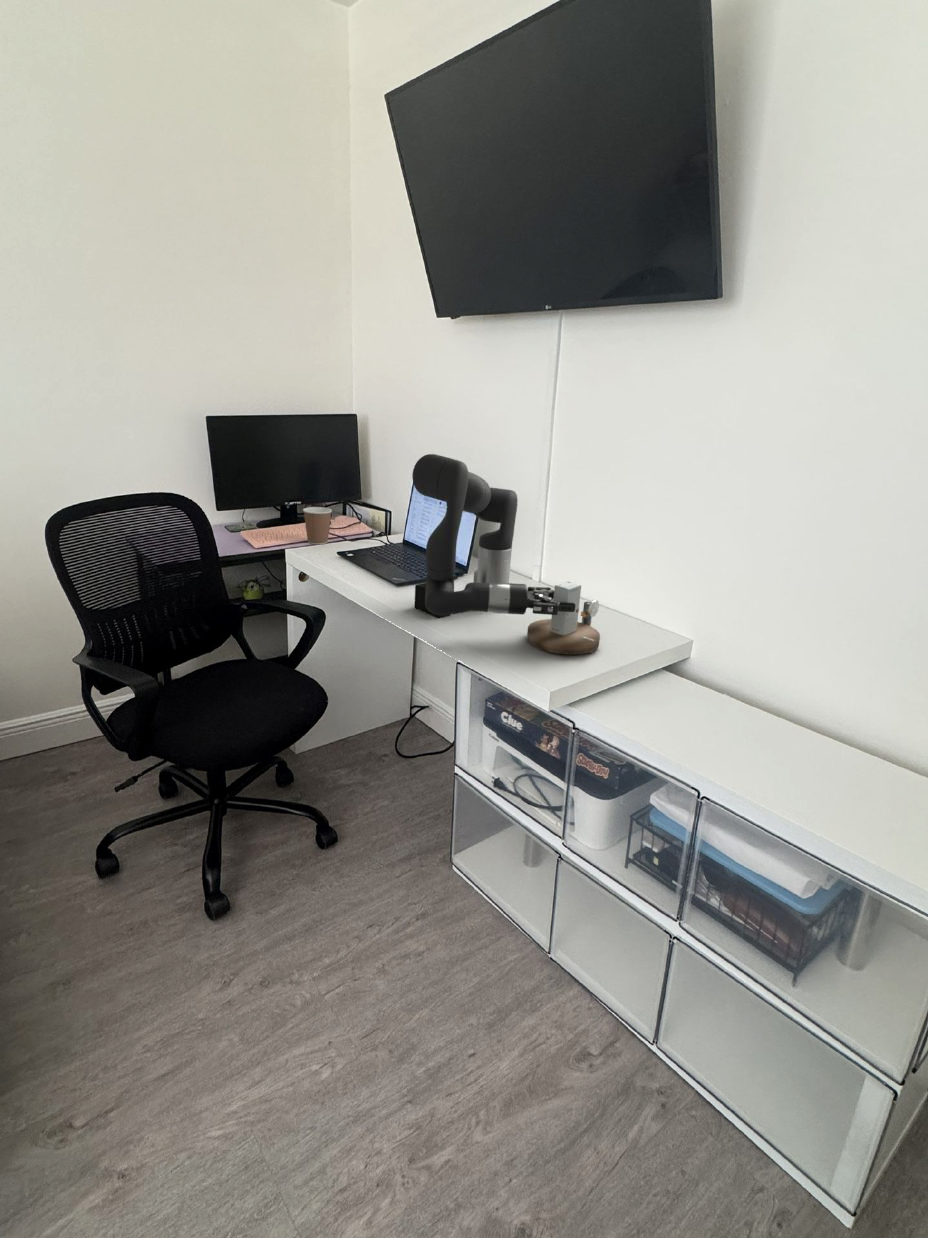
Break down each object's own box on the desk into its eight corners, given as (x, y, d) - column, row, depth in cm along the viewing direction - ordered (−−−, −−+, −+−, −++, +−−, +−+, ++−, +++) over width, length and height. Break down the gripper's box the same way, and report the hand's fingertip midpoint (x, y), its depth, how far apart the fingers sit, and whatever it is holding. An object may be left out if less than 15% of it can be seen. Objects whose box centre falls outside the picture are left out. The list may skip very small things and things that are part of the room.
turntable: (512, 639, 174) (513, 630, 173) (551, 622, 188) (552, 613, 187) (575, 660, 164) (577, 650, 163) (611, 641, 177) (612, 632, 176)
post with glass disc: (586, 636, 182) (590, 602, 178) (576, 633, 183) (580, 599, 180) (595, 631, 185) (599, 598, 182) (585, 628, 187) (589, 595, 184)
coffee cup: (336, 540, 260) (336, 508, 256) (325, 546, 251) (324, 513, 247) (310, 537, 262) (310, 505, 258) (298, 543, 253) (297, 510, 249)
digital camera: (454, 615, 191) (455, 590, 188) (439, 619, 187) (441, 594, 185) (428, 605, 198) (429, 581, 195) (414, 608, 194) (415, 584, 192)
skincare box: (563, 636, 171) (569, 589, 167) (548, 631, 174) (553, 585, 170) (577, 630, 176) (583, 584, 172) (562, 625, 179) (567, 580, 175)
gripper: (510, 592, 164) (579, 596, 164) (505, 575, 177) (569, 578, 178) (507, 622, 166) (575, 626, 167) (503, 603, 180) (565, 606, 180)
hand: (572, 601), depth 172 cm, fingers open, 8 cm apart
